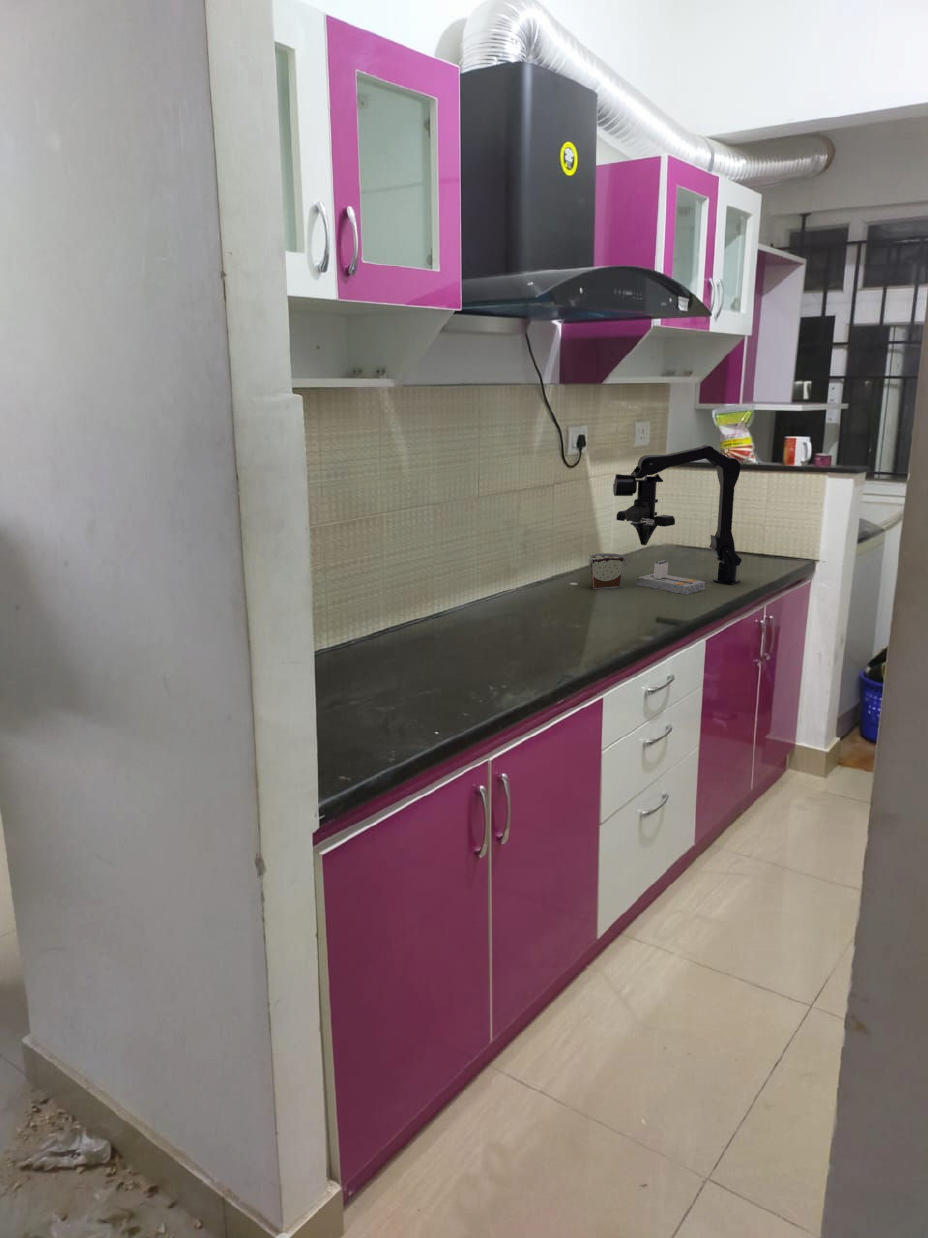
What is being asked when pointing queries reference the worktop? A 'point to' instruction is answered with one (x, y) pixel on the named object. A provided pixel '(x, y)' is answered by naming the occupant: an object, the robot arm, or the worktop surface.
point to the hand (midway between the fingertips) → (643, 545)
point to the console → (672, 584)
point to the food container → (606, 570)
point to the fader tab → (660, 569)
